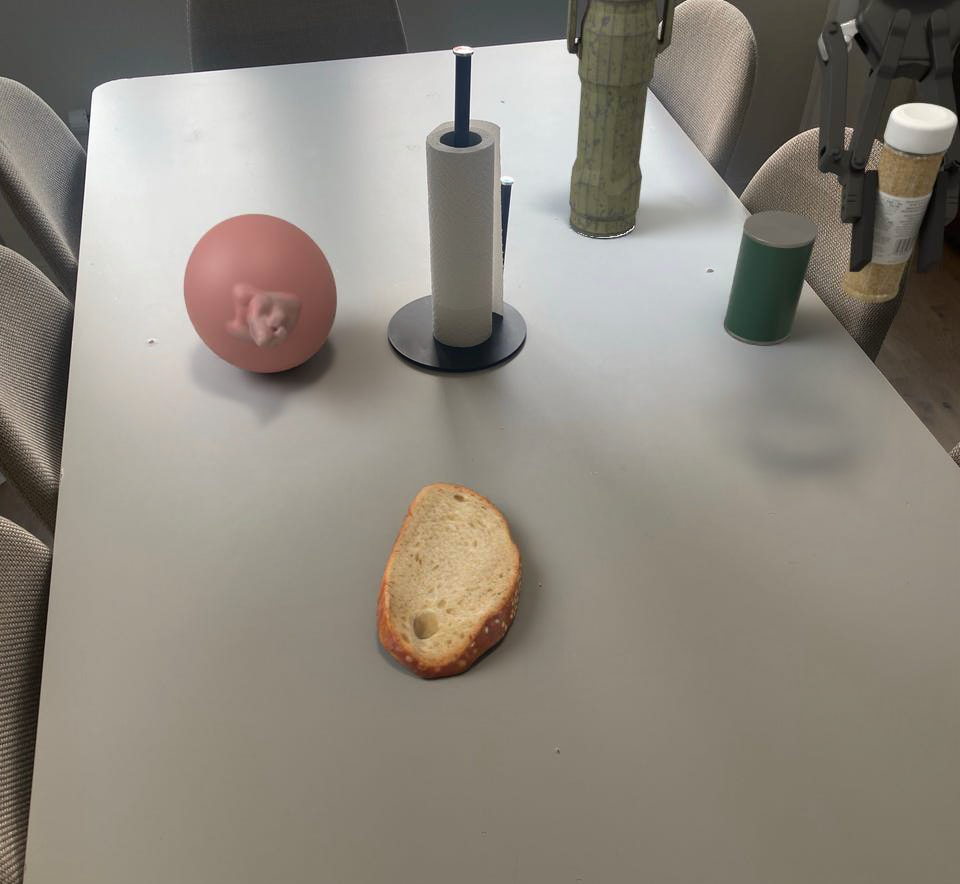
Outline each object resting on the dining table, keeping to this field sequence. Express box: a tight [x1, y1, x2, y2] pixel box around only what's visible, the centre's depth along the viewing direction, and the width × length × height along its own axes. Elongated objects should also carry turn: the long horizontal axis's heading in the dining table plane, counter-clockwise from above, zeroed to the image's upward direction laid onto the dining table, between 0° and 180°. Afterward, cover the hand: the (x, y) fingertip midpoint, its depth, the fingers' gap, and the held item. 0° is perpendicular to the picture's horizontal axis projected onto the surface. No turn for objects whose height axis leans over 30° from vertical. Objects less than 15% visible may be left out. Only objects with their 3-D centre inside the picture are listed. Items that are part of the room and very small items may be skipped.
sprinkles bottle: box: [840, 102, 957, 304], centre depth 71 cm, size 5×5×13 cm
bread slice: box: [376, 482, 523, 680], centre depth 79 cm, size 18×18×4 cm
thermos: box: [566, 0, 677, 237], centre depth 110 cm, size 9×12×35 cm
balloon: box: [183, 213, 338, 374], centre depth 96 cm, size 15×20×15 cm
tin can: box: [723, 210, 819, 346], centre depth 102 cm, size 8×8×12 cm
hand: (894, 266), depth 71 cm, fingers closed on sprinkles bottle, 4 cm apart
